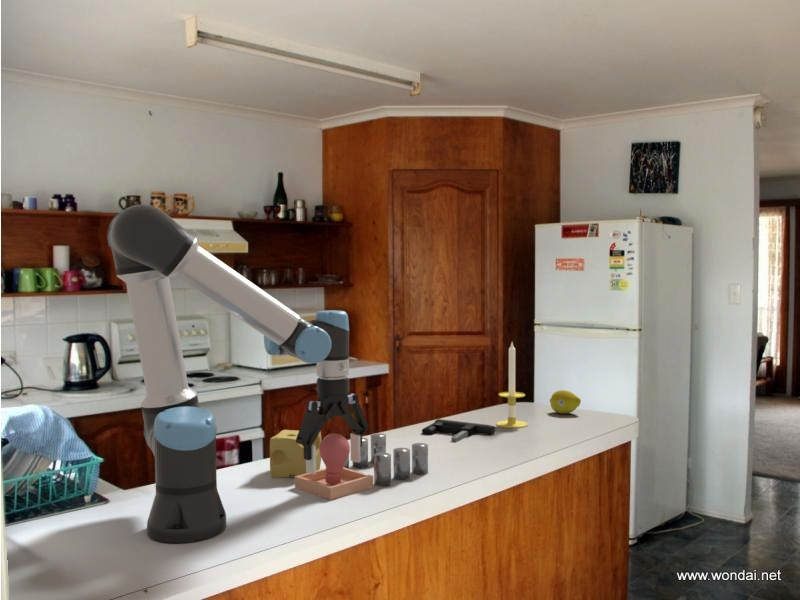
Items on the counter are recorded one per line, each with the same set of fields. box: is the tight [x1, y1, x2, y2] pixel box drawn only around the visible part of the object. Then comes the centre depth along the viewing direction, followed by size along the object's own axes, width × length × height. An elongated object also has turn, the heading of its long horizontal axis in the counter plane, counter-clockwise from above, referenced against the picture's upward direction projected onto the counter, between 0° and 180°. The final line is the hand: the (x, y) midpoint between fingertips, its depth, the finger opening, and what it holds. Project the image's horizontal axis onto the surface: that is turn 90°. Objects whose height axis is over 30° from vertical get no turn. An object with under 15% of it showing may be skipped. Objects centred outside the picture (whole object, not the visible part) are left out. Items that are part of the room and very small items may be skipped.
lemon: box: [549, 389, 582, 415], centre depth 256 cm, size 11×8×8 cm
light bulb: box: [319, 433, 351, 485], centre depth 175 cm, size 7×7×12 cm
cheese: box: [269, 429, 322, 479], centre depth 187 cm, size 10×11×10 cm
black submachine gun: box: [421, 418, 496, 443], centre depth 227 cm, size 3×20×16 cm
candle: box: [495, 342, 528, 429], centre depth 239 cm, size 10×10×27 cm
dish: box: [294, 467, 374, 501], centre depth 175 cm, size 13×13×3 cm
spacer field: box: [343, 432, 429, 488], centre depth 187 cm, size 17×19×7 cm
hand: (333, 467), depth 175 cm, fingers open, 13 cm apart
